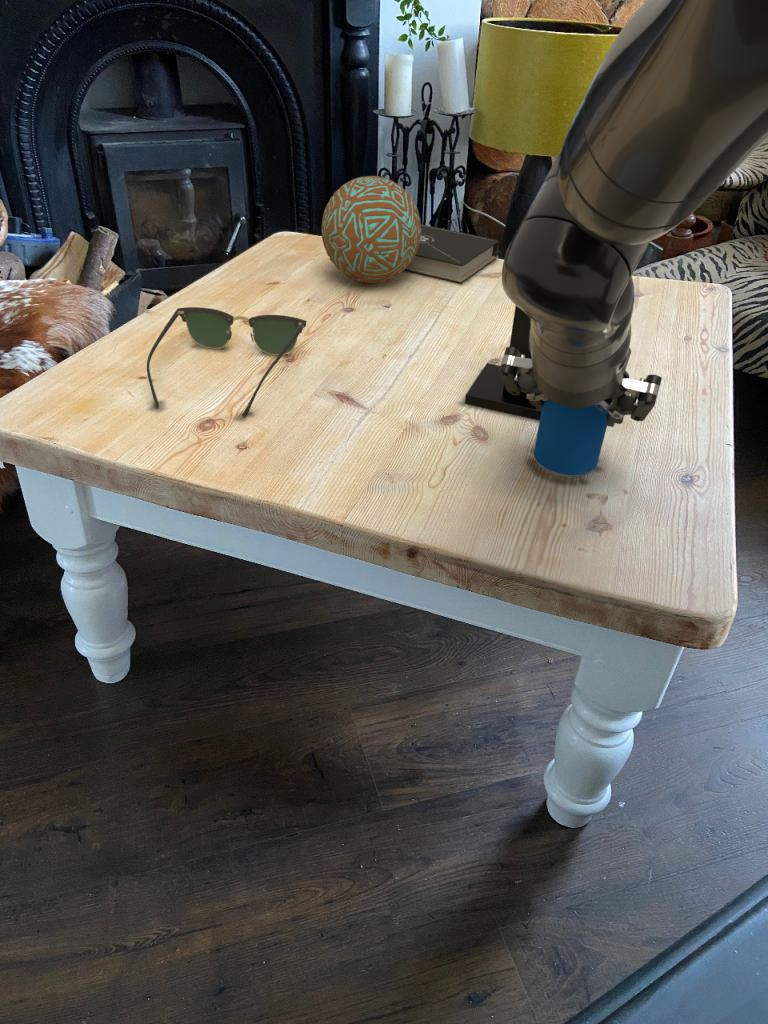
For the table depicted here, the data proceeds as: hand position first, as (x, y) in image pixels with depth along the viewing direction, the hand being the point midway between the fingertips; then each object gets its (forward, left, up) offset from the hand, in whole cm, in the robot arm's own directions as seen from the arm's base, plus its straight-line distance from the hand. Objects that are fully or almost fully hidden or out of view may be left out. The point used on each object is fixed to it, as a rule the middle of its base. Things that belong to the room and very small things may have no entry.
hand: (576, 409), depth 74 cm
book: (+34, -51, -6) cm, 62 cm away
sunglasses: (+41, 0, -6) cm, 41 cm away
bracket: (+7, -11, -6) cm, 14 cm away
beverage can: (0, +2, -6) cm, 6 cm away
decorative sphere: (+38, -38, -6) cm, 54 cm away
